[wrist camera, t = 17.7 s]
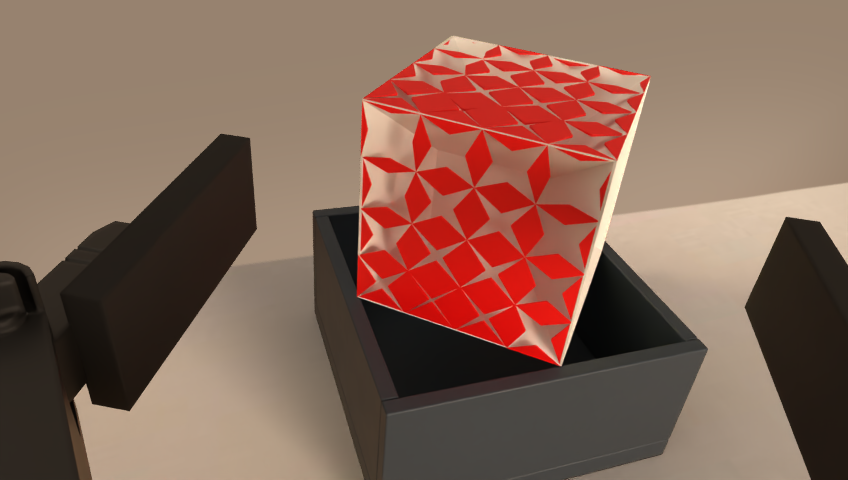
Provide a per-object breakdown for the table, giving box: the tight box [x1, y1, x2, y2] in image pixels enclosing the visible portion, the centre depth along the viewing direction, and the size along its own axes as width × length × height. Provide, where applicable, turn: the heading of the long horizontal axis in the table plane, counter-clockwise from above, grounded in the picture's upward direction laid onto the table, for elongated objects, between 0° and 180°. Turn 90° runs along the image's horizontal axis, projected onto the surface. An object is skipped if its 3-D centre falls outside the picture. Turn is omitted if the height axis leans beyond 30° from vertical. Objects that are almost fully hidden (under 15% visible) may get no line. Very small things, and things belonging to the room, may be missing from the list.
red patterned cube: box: [357, 36, 651, 366], centre depth 25 cm, size 8×8×8 cm
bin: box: [313, 206, 708, 480], centre depth 28 cm, size 12×12×6 cm
